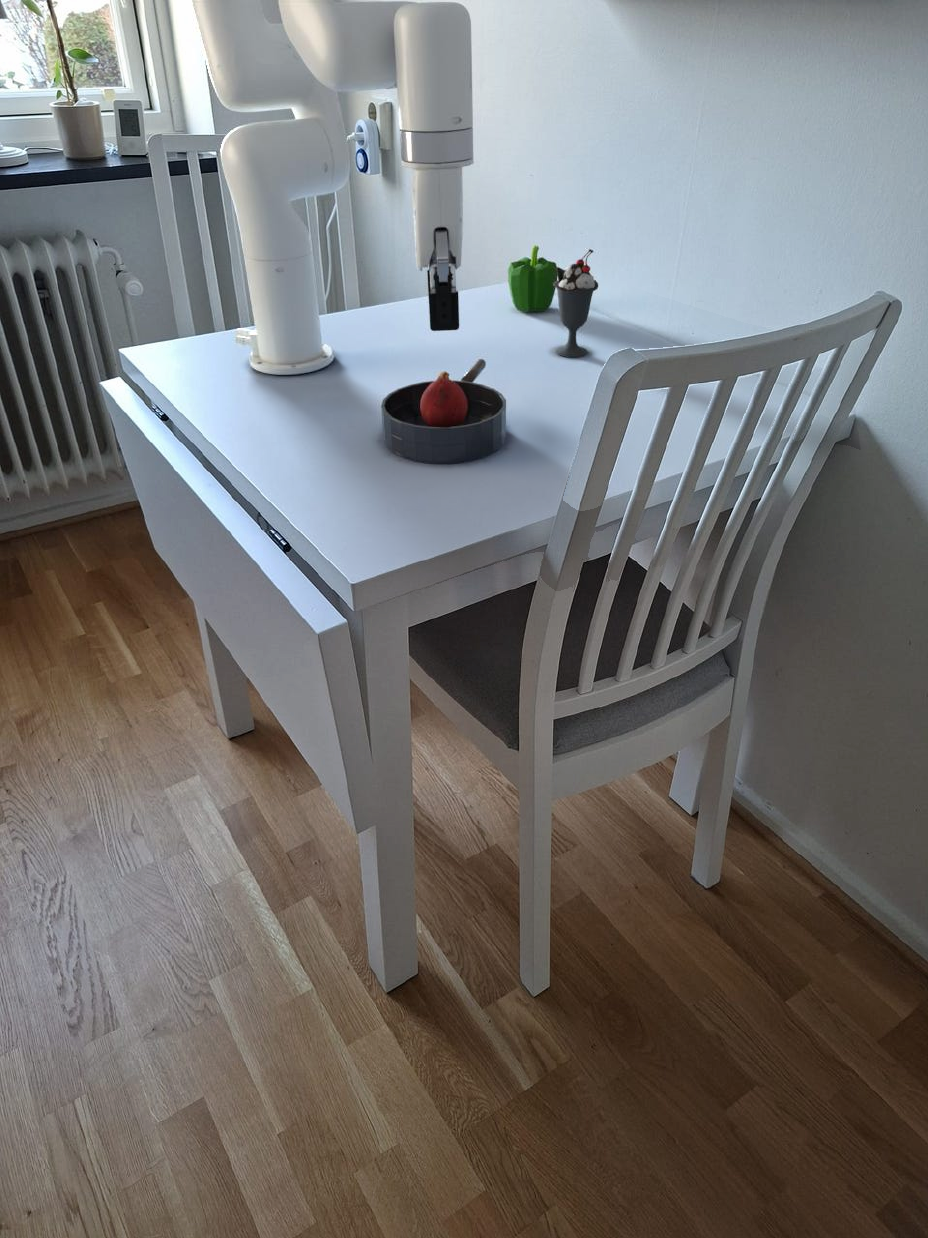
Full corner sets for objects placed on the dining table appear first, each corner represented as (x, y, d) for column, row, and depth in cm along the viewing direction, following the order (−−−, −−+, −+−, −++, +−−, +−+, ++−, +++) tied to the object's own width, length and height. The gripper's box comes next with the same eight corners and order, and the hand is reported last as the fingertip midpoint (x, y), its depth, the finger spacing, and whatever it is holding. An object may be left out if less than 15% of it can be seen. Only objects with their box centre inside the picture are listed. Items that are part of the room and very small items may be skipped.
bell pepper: (541, 319, 147) (544, 256, 141) (500, 311, 150) (500, 250, 144) (564, 306, 152) (568, 245, 146) (524, 299, 156) (525, 240, 150)
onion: (462, 446, 105) (461, 382, 101) (416, 442, 106) (413, 379, 102) (471, 427, 110) (471, 365, 105) (427, 423, 111) (425, 362, 106)
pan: (365, 455, 104) (362, 420, 102) (408, 408, 116) (407, 375, 114) (486, 470, 101) (486, 434, 98) (518, 420, 112) (519, 386, 110)
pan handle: (467, 392, 112) (466, 382, 111) (456, 391, 112) (456, 381, 112) (487, 367, 119) (487, 357, 119) (477, 367, 120) (477, 357, 119)
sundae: (600, 356, 131) (609, 251, 123) (559, 361, 130) (564, 255, 121) (583, 342, 136) (590, 241, 128) (543, 347, 135) (547, 245, 126)
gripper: (401, 139, 97) (411, 297, 106) (399, 161, 82) (410, 341, 92) (468, 137, 97) (471, 295, 107) (478, 158, 83) (480, 338, 92)
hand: (443, 316), depth 99 cm, fingers open, 9 cm apart
